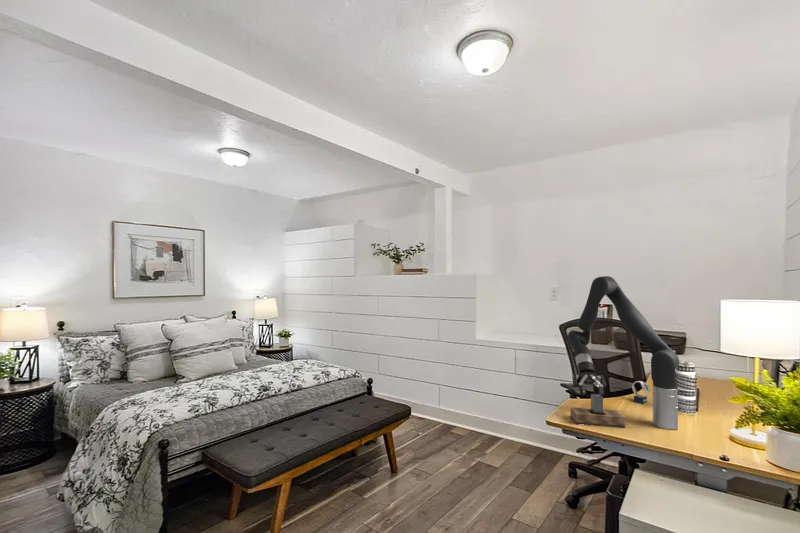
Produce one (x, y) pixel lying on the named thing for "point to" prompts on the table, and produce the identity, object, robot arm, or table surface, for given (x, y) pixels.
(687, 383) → the model tower building
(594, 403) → the grey rectangular block
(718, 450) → the table surface
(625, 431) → the table surface
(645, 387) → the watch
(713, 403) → the table surface
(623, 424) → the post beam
